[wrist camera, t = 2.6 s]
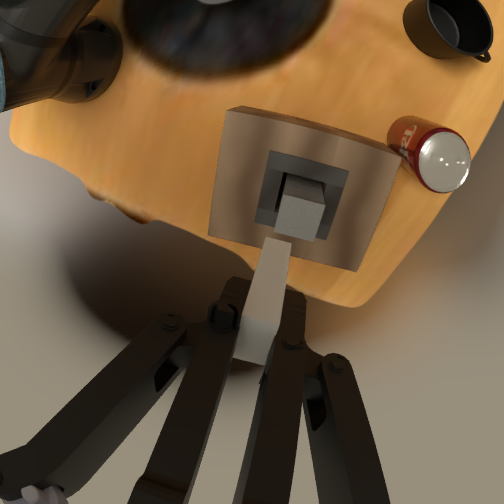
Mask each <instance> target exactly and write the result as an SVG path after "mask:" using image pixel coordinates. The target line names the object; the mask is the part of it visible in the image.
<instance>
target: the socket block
mask: <svg viewBox="0 0 504 504" xmlns="http://www.w3.org/2000/svg"><path fill="white" fill-rule="evenodd" d="M401 159H402V157H401V156H399V155H398V154H397V153H396V152H394V151H393V150H392V149H390V148H389V147H388V146H386V145H385V144H383V143H380V142H377V141H375V140H372V139H369V138H366V137H363V136H360V135H357V134H354V133H350V132H347V131H344V130H341V129H337V128H334V127H330V126H327V125H323V124H320V123H316V122H312V121H309V120H305V119H301V118H297V117H293V116H288V115H284V114H280V113H275V112H270V111H266V110H261V109H256V108H251V107H245V106H238V107H235V108H232V109H229V110H226V116H225V122H224V127H223V133H222V139H221V145H220V152H219V158H218V164H217V171H216V178H215V184H214V191H213V198H212V206H211V213H210V221H209V228H208V235H209V236H213V237H217V238H221V239H225V240H229V241H233V242H237V243H241V244H245V245H249V246H253V247H258V248H263V245H264V241H265V238H266V237H269V238H273V239H277V240H281V241H284V242H288V243H292V245H291V252H290V256H294V257H298V258H302V259H306V260H310V261H314V262H318V263H322V264H326V265H330V266H334V267H338V268H342V269H346V270H349V271H353V272H357V270H358V268H359V266H360V264H361V261H362V259H363V257H364V255H365V252H366V250H367V248H368V246H369V243H370V241H371V239H372V236H373V234H374V231H375V229H376V226H377V224H378V222H379V219H380V217H381V214H382V211H383V209H384V206H385V204H386V201H387V199H388V196H389V193H390V190H391V188H392V185H393V182H394V179H395V177H396V174H397V171H398V168H399V165H400V162H401ZM283 172H286V173H290V174H294V175H298V176H302V177H306V178H310V179H313V180H317V181H321V185H322V191H323V197H324V203H325V208H324V212H323V215H322V218H321V221H320V224H319V227H318V230H317V233H316V236H315V239H314V242H312V241H308V240H304V239H300V238H296V237H292V236H288V235H284V234H280V233H276V232H274V228H275V224H276V221H277V216H278V211H279V206H280V201H281V197H282V193H283V189H280V184H281V180H282V176H283Z"/></svg>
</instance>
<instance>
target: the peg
mask: <svg viewBox="0 0 504 504" xmlns="http://www.w3.org/2000/svg"><path fill="white" fill-rule="evenodd" d="M324 208H325V203H324V197H323V191H322V185H321V181H317V180H313V179H310V178H306V177H302V176H298V175H294V174H290V173H287V177H286V181H285V185H284V189H283V193H282V197H281V201H280V206H279V211H278V216H277V221H276V224H275V228H274V232H276V233H280V234H284V235H288V236H292V237H296V238H300V239H304V240H308V241H312V242H314V239H315V236H316V233H317V230H318V227H319V224H320V221H321V218H322V215H323V212H324Z"/></svg>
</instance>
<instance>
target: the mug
mask: <svg viewBox="0 0 504 504" xmlns="http://www.w3.org/2000/svg"><path fill="white" fill-rule="evenodd" d="M403 23H404V27H405V30H406V32H407V34H408V36H409V38H410V39H411V41H412V42H413V43H414V44H415V45H416V46H417V47H418V48H419V49H420V50H421V51H423V52H424V53H426V54H427V55H429V56H432V57H434V58H438V59H448V58H458V57H471V56H473V57H474V58H476V59H477V60H479V61H481V62H485V63H487V62H489V61H490V60H491V57H490V54H489V52H488V50H489V48H490V47H491V45H492V42H493V26H492V23H491V20H490V17H489V15H488V13H487V11H486V10H485V8H484V7H483V5H482V4H481V3H480V2H479V0H413V1H411V2H410V3H409V4H408V5H407V6H406V8H405V10H404V14H403ZM482 54H484V56H485V57H482V56H480V55H482Z"/></svg>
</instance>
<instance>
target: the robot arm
mask: <svg viewBox="0 0 504 504" xmlns="http://www.w3.org/2000/svg"><path fill="white" fill-rule="evenodd" d="M99 1H100V0H0V113H1V112H4V111H7V110H10V109H13V108H16V107H20V106H23V105H26V104H30V103H33V102H37V101H41V100H44V99H49V98H50V99H54V100H58V101H62V102H66V103H81V102H86V101H89V100H92V99H94V98H96V97H98V96H99V95H100V94H102V93H103V92H104V91H105V90H106V89H107V88H108V87H109V85H110V84H111V83H112V81H113V79H114V78H115V76H116V74H117V71H118V69H119V66H120V62H121V58H122V40H121V36H120V33H119V31H118V29H117V27H116V26H115V25H114V24H113V23H112V22H111V21H109V20H108V19H105V18H102V17H96V16H87V15H88V14H89V12H90V11H91V10H92V9H93V8H94V6H95V5H96V4H97V3H98V2H99ZM291 245H292V243H288V242H284V241H281V240H277V239H273V238H269V237H266V238H265V241H264V245H263V248H262V251H261V254H260V258H259V261H258V264H257V267H256V271H255V274H254V277H253V280H252V281H250V280H246V279H242V278H239V277H235V276H233V277H232V278H231V279H229V280H228V281H227V282H226V285H225V287H224V289H223V292H222V294H221V296H220V299H219V301H215V302H213V303H212V304H211V305H210V306H209V309H208V317H207V320H206V321H204V322H200V323H188V322H186V321H185V319H184V318H183V317H182V316H181V315H178V314H175V313H165V314H162V315H160V316H158V317H157V318H156V319H155V320H154V321H153V322H152V323H151V324H150V325H149V326H148V327H147V328H145V329H144V330H143V331H142V332H141V333H140V334H139V335H138V336H137V337H136V338H135V339H134V340H133V341H132V342H131V343H130V344H129V345H128V346H126V347H125V348H124V349H123V350H122V351H121V352H120V353H119V354H118V355H117V356H116V357H115V358H114V359H113V360H112V361H111V362H110V363H109V364H108V365H107V366H106V367H104V368H103V369H102V370H101V371H100V372H99V373H98V374H97V375H96V376H95V377H94V378H93V379H92V380H91V381H90V382H89V383H88V384H87V385H86V386H85V387H84V388H83V389H82V390H81V391H80V392H79V393H78V394H77V395H76V396H75V397H74V398H73V399H71V400H70V401H69V403H67V404H66V405H65V406H64V407H63V408H62V410H60V411H59V412H58V413H57V414H56V415H55V416H54V417H53V418H52V419H51V420H50V421H49V422H48V423H47V424H46V425H45V426H44V427H43V428H42V429H41V430H40V431H39V432H38V433H37V434H36V435H35V436H34V437H33V438H32V439H31V440H30V441H29V442H28V443H27V444H26V445H24V446H21V447H19V448H17V449H14V450H11V451H9V452H6V453H3V454H1V455H0V498H1V499H2V501H3V503H4V504H68V501H67V499H66V498H68V497H70V496H72V495H73V494H74V493H76V492H77V491H79V490H80V489H81V488H82V487H83V486H84V485H85V484H86V483H87V482H88V481H89V480H90V479H91V478H92V476H93V475H94V474H95V473H96V472H97V471H98V470H99V468H100V467H101V466H102V465H103V464H104V462H106V460H107V459H108V458H109V457H110V456H111V455H112V453H113V452H114V451H115V450H116V449H117V448H118V446H119V445H120V444H121V443H122V442H123V441H124V439H125V438H126V437H127V436H128V435H129V434H130V432H131V431H132V430H133V429H134V428H135V427H136V425H137V424H138V423H139V422H140V421H141V419H142V418H143V417H144V416H145V415H146V414H147V412H148V411H149V410H150V409H151V408H152V406H153V405H154V404H155V403H156V402H157V400H158V399H159V398H160V396H162V394H163V393H164V392H165V391H166V390H167V388H168V387H169V386H170V385H171V384H172V382H173V381H174V380H175V379H176V377H177V376H178V375H179V374H180V373H181V371H182V370H183V369H184V368H187V370H186V372H185V375H184V377H183V379H182V382H181V384H180V387H179V389H178V392H177V394H176V396H175V399H174V401H173V403H172V406H171V408H170V411H169V413H168V416H167V418H166V420H165V423H164V425H163V428H162V430H161V432H160V435H159V437H158V440H157V442H156V445H155V447H154V450H153V452H152V455H151V457H150V460H149V462H148V464H147V467H146V469H145V472H144V474H143V475H142V476H141V477H140V478H139V479H138V481H137V482H136V484H135V486H134V488H133V491H132V493H131V496H130V498H129V501H128V503H127V504H188V502H189V499H190V495H191V492H192V488H193V486H194V483H195V480H196V476H197V473H198V470H199V467H200V463H201V461H202V457H203V454H204V451H205V448H206V444H207V441H208V438H209V435H210V431H211V428H212V425H213V422H214V418H215V415H216V412H217V408H218V405H219V402H220V399H221V395H222V392H223V389H224V386H225V382H226V379H227V376H228V372H229V369H230V365H231V361H232V357H234V358H237V359H241V360H245V361H249V362H253V363H257V364H261V365H265V369H264V372H263V374H262V377H261V379H260V382H259V384H260V388H259V393H258V397H257V402H256V406H255V411H254V415H253V420H252V424H251V428H250V433H249V437H248V442H247V446H246V450H245V455H244V459H243V463H242V467H241V471H240V475H239V479H238V483H237V487H236V491H235V495H234V500H233V503H232V504H288V503H289V498H290V492H291V485H292V479H293V472H294V465H295V458H296V450H297V441H298V434H299V426H300V417H301V407H302V403H303V409H304V414H305V420H306V426H307V431H308V437H309V443H310V449H311V455H312V461H313V467H314V473H315V480H316V485H317V492H318V498H319V504H390V500H389V495H388V492H387V487H386V483H385V479H384V475H383V471H382V468H381V464H380V460H379V456H378V453H377V449H376V445H375V441H374V438H373V434H372V431H371V427H370V424H369V421H368V417H367V414H366V411H365V407H364V404H363V401H362V397H361V394H360V391H359V388H358V385H357V381H356V378H355V375H354V372H353V369H352V366H351V364H350V362H349V360H347V359H346V358H345V357H344V356H342V355H340V354H336V353H331V354H327V355H326V356H322V355H320V354H317V353H316V352H314V351H312V350H311V349H310V348H309V347H308V346H307V344H306V341H305V339H304V332H305V319H306V316H305V315H306V302H307V301H306V299H305V296H304V294H303V293H300V292H296V291H292V290H288V289H285V287H286V280H287V273H288V266H289V259H290V252H291ZM265 363H266V364H265Z"/></svg>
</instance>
